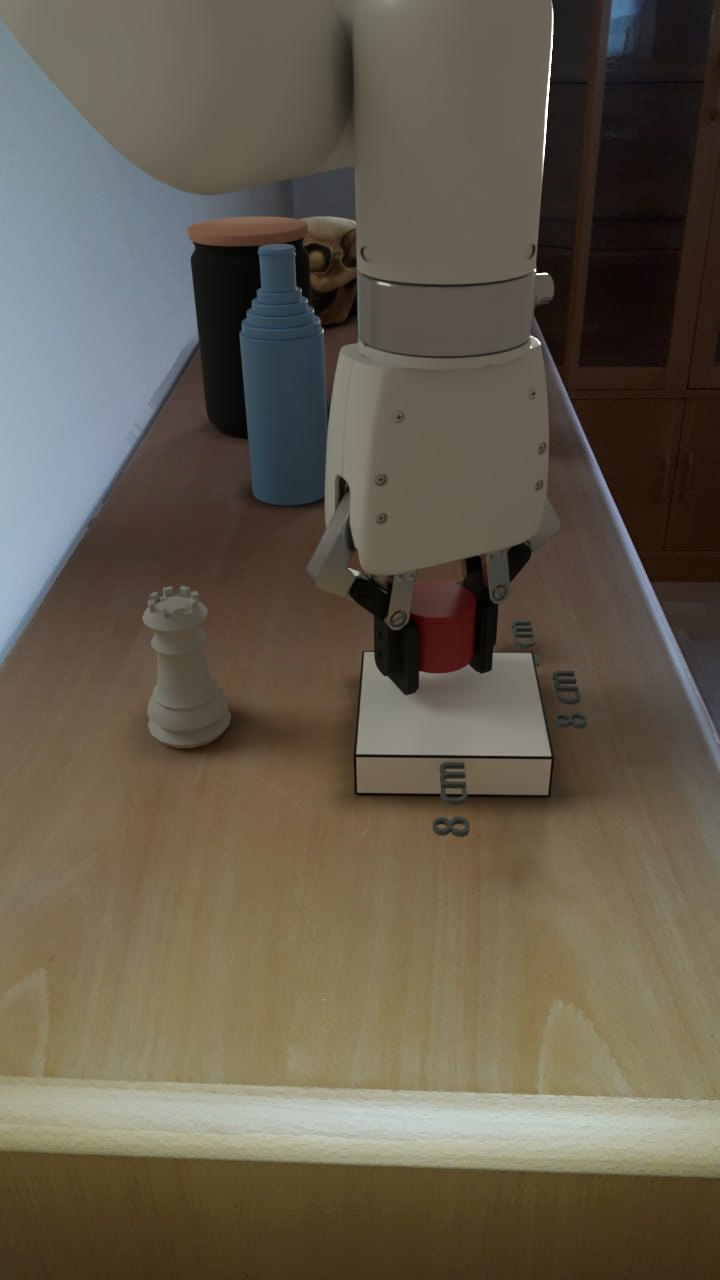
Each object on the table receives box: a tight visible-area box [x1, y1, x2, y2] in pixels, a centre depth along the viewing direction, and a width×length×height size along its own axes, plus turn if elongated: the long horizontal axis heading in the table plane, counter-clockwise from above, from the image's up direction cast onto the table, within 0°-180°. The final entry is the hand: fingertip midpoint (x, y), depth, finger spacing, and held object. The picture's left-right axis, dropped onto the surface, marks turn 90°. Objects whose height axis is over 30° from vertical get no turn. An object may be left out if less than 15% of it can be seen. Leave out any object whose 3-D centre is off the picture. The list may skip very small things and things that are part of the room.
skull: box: [299, 215, 357, 327], centre depth 132 cm, size 16×17×13 cm
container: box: [353, 620, 588, 838], centre depth 51 cm, size 20×11×3 cm, turn 177°
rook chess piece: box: [141, 585, 232, 750], centre depth 51 cm, size 4×4×8 cm
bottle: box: [240, 244, 328, 506], centre depth 77 cm, size 6×6×19 cm
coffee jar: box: [187, 216, 312, 439], centre depth 92 cm, size 11×11×18 cm
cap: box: [410, 580, 476, 673], centre depth 50 cm, size 4×4×3 cm
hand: (435, 667), depth 52 cm, fingers closed on cap, 3 cm apart
